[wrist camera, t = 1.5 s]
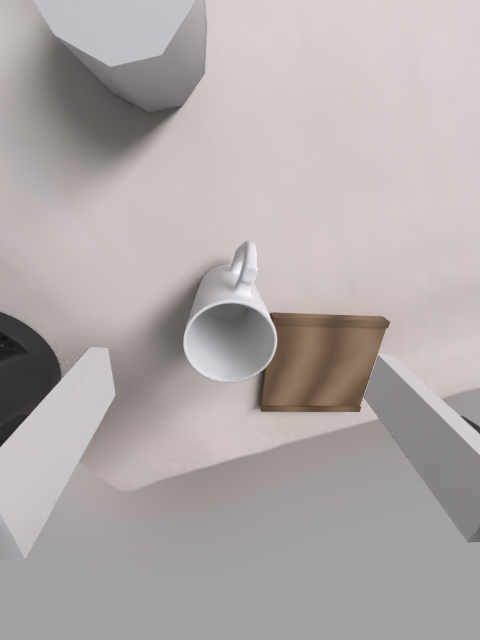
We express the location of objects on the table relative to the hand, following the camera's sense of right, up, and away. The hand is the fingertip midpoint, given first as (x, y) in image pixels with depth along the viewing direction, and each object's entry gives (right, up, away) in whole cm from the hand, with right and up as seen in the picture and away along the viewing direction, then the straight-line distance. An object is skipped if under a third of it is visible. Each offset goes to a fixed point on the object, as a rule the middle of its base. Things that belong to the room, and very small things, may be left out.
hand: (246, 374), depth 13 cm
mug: (-1, +7, +16) cm, 18 cm away
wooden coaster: (+10, -3, +22) cm, 24 cm away
